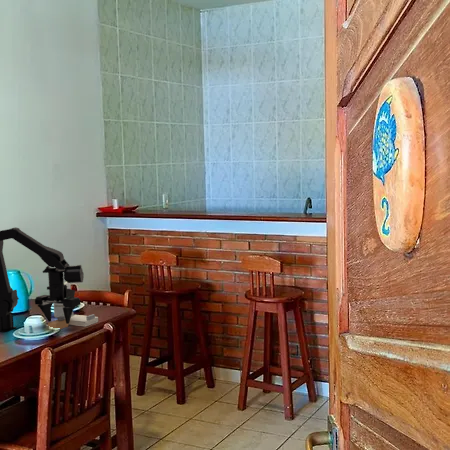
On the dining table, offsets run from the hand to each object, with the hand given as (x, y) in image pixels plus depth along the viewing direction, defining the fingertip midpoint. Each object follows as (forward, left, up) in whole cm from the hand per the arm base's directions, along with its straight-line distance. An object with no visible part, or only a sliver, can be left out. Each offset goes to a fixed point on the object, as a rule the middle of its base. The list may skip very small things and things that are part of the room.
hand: (58, 322), depth 246 cm
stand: (+9, -3, -2) cm, 10 cm away
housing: (0, 0, -2) cm, 2 cm away
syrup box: (+16, +12, -2) cm, 20 cm away
